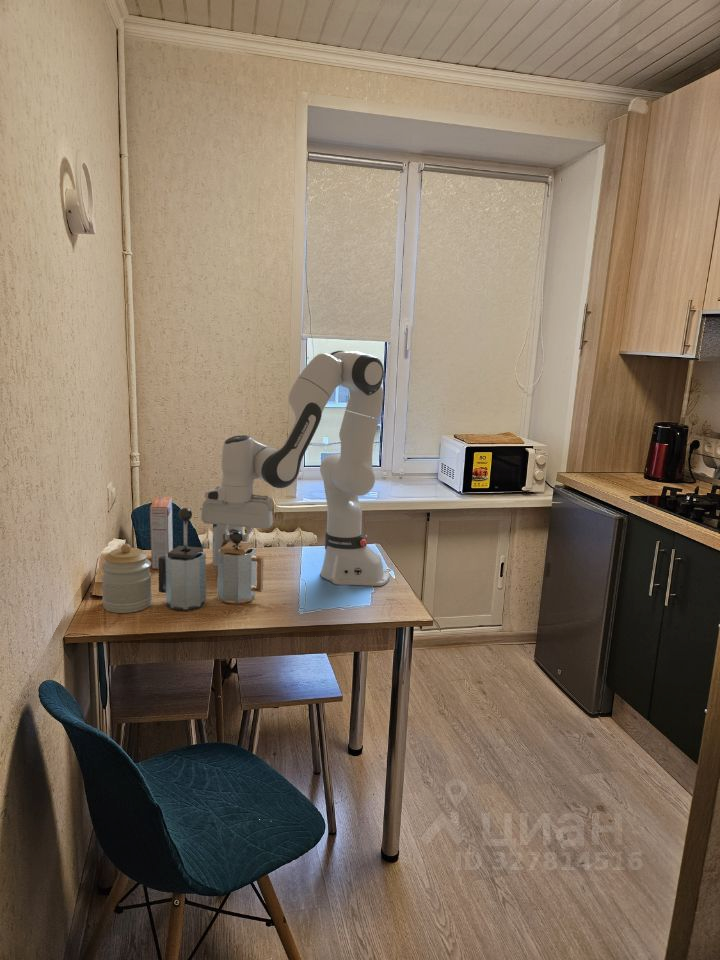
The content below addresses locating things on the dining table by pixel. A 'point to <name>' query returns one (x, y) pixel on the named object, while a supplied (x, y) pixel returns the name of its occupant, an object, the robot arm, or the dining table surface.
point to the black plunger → (185, 524)
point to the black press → (183, 578)
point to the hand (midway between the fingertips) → (236, 540)
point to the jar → (126, 580)
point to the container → (220, 539)
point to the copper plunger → (236, 538)
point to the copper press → (238, 573)
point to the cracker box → (161, 528)
